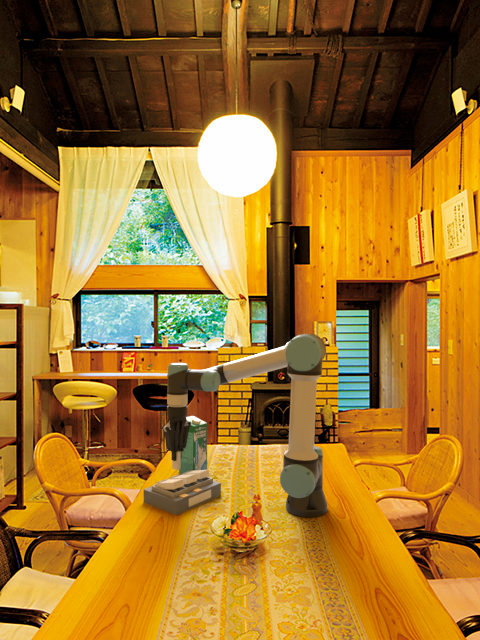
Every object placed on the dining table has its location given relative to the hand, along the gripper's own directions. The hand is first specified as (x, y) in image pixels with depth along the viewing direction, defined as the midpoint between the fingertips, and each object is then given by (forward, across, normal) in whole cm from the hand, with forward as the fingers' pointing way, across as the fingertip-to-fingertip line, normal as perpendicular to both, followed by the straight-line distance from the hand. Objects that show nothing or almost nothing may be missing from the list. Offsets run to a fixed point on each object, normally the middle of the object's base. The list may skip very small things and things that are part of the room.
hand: (176, 468), depth 173 cm
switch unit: (+14, -7, -4) cm, 16 cm away
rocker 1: (+8, 0, -3) cm, 9 cm away
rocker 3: (+8, -14, -3) cm, 16 cm away
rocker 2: (+8, -7, -3) cm, 11 cm away
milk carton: (+15, -31, -22) cm, 41 cm away
